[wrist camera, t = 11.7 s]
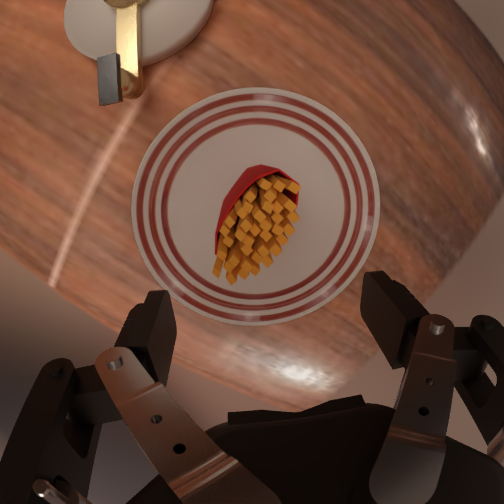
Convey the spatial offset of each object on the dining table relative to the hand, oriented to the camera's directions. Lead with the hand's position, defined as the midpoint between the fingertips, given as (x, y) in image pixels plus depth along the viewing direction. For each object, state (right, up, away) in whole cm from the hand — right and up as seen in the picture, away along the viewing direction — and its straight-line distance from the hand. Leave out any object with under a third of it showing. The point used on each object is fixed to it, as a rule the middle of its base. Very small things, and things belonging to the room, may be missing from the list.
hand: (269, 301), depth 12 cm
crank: (-12, +23, +10) cm, 27 cm away
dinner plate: (0, +6, +23) cm, 24 cm away
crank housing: (-13, +29, +12) cm, 34 cm away
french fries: (-1, +8, +19) cm, 20 cm away
